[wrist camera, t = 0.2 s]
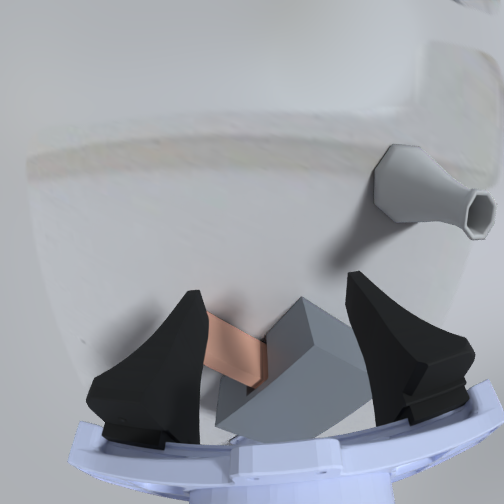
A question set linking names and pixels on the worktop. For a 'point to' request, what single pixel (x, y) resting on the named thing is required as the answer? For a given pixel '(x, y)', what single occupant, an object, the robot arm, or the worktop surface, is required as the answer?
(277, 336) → the block
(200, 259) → the worktop surface
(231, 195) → the worktop surface
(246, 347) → the strip
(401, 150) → the flask
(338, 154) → the worktop surface
